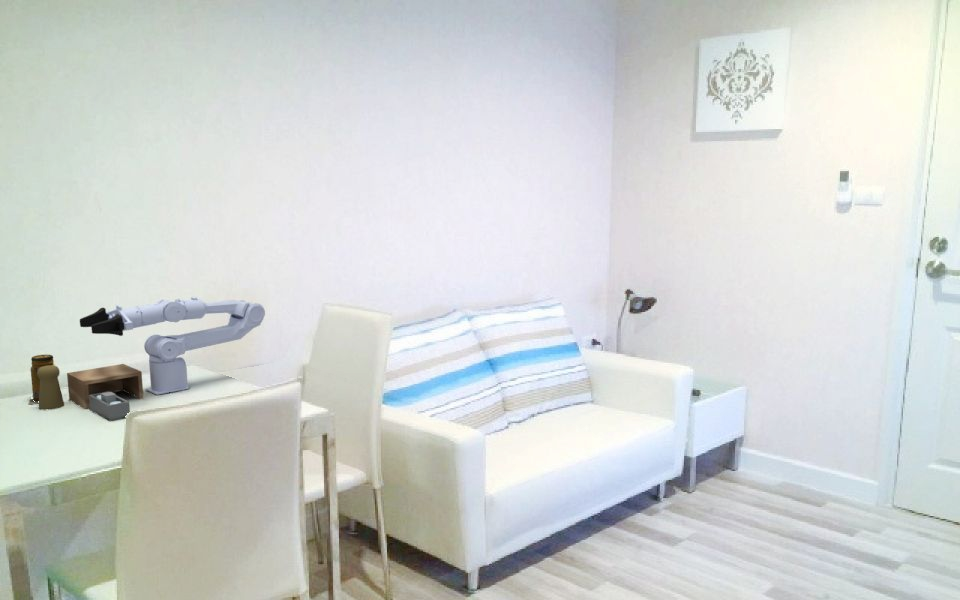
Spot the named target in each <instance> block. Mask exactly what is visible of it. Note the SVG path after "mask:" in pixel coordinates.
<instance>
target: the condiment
mask: <svg viewBox="0 0 960 600" xmlns="http://www.w3.org/2000/svg"><path fill="white" fill-rule="evenodd" d="M48 365H53V366H56V365H55V363H54V356H53V355H52V354H38V355H33V356H32V357H31V367H30V376H31V377H30V378H31V379H30V380H31V389H32V397H33V399H31V397H30V399H29V401H28V404H29V405H30V404H32V405H34V404H39V403H38V401H39V392H40V379H39V378H38V375H37V371H38V369H39V368H40V367H43V366H48ZM33 400H34V401H35V402H34V401H33Z"/></svg>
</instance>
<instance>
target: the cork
mask: <svg viewBox="0 0 960 600" xmlns="http://www.w3.org/2000/svg"><path fill="white" fill-rule="evenodd" d="M37 375H38V378H39V379H40V392H39V403H38V409H39V410H42V409H48V410H55V409H56V410H57V409H59V408H62V407H64V406H65V403H64V397H63V394H62V390H61V386H60V383H59V382H60V381H59V376H60V368H59V367H58V366H56V365H55V366H53V365H48V366H43V367H40V368H39V369H38V371H37Z"/></svg>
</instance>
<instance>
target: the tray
mask: <svg viewBox="0 0 960 600" xmlns="http://www.w3.org/2000/svg"><path fill="white" fill-rule="evenodd" d="M89 404H90V409H89V410H90V411H91V410H92V411H91V412H93V413H94V412H95V413H94V414H96V415H98V416H100V417H102V418H103V419H105V420H107V421H109V422H115V421H117V420H122V419H123V420H124V419H126V418H125V416H126V415H127V413H129V412H130V413H131V408H130V401H129V400H126V399H124V398H122V396H121V397H120V396H118V395H117V394H116V393H115V392H113V393H112V392H103V393H98V394H92V395H89Z"/></svg>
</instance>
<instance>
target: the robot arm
mask: <svg viewBox="0 0 960 600" xmlns="http://www.w3.org/2000/svg"><path fill="white" fill-rule="evenodd" d="M115 307H116V308H115V309H113V310H108V311H107V310H106V308H105V307H100V308H99V309H98V310H97V311H95V312H94V313H91V314H89V315H87V316H83V317H81V318H80V319H79V326H80V328H91V334H94V335H95V334H96V335H97V334H99V335H101V334H104V335H117V336H119V337H122V336H124V331H131V330H134V329H137V328H140V327H148V326H151V325H156V324H161V323H164V322H170V323H178V322H180V321H187V320H196V319H197V320H199V319H202V318H204V316H205V315H206V314H226V313H227V314H229V315H230V316H229V318H228V319H229V320H228V324H227V325H221V326H218V327H212V328H211V327H210V328H207V329H202V330H197V331H191V332H188V333H183V334H170V335H168V334H167V335H160V334H153V335H150V336H148V337H147V339H146V340H145V342H144V345H143V347H144V351H145V352H146V353H147V355H148V356H149V357H148V362H149V363H148V364H149V365H148V366H149V378H150V387H146V388H145V391H147V392H149V393H151V394H153V395H155V396H158V395H164V394H168V393H169V392H170V393H174V392H178V391H183V390H184V391H185V390H189V389H190V387H189V385H188V381H189V380H188V371H187V370H188V368H187V364H186V361H185V359H184V358H183V357H181V355H184V354H185V353H186V352H188V351H193V350H198V349H201V348H202V349H203V348H207V347H211V346H215V345H219V344H224V343H225V344H226V343H228V342H233V341H237V340H238V341H239V340H241V339H242V338H243V339H244V337H245V336H247V334H248V333H250V332H251V331H252V330H253V329H255V328H257V327H259V326H261V325H262V322H263V320H264V318H265V316H266V311H265V308H264V306H263V305H262V304H260V303H257V302H256V303H253V302H250V301H245V300H235V299H233V300H232V299H228V300H219V301H210V302H205V301H203V300H202V299H200V298H198V297H195V296H193V297H190V299H180V298H175V299H174V300H173V301H171V300H164V299H161V300H159V301H158V302H156V303H150V304H144V305H137V306H131V307H127V308H122V306H121V305H120V304H119V305H116V306H115ZM179 356H180V357H179Z"/></svg>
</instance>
